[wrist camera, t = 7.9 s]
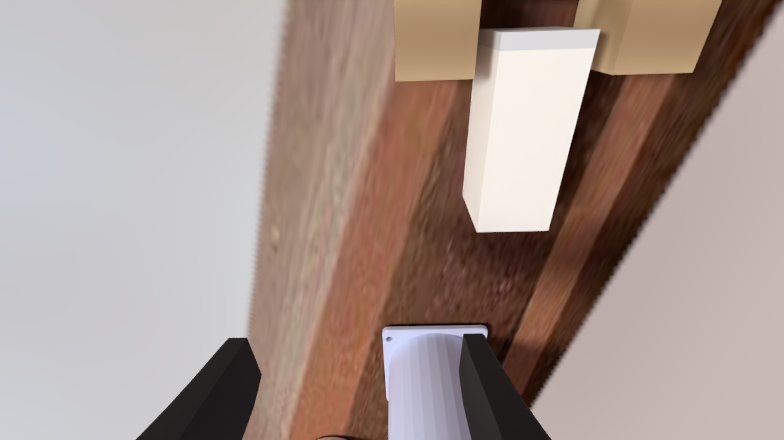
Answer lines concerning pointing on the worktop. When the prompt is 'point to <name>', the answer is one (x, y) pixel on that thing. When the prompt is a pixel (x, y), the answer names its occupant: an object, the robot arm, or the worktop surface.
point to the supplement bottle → (331, 438)
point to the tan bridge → (595, 11)
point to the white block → (523, 122)
